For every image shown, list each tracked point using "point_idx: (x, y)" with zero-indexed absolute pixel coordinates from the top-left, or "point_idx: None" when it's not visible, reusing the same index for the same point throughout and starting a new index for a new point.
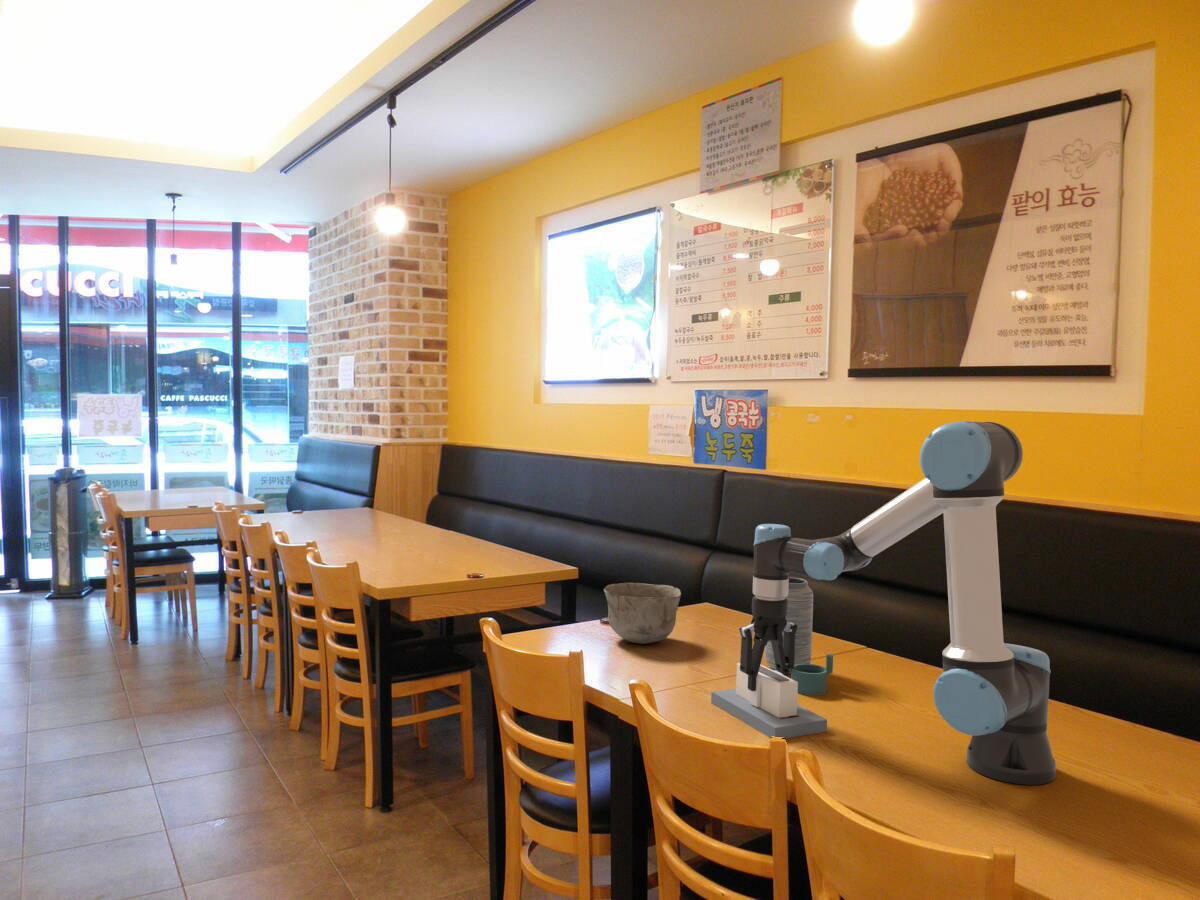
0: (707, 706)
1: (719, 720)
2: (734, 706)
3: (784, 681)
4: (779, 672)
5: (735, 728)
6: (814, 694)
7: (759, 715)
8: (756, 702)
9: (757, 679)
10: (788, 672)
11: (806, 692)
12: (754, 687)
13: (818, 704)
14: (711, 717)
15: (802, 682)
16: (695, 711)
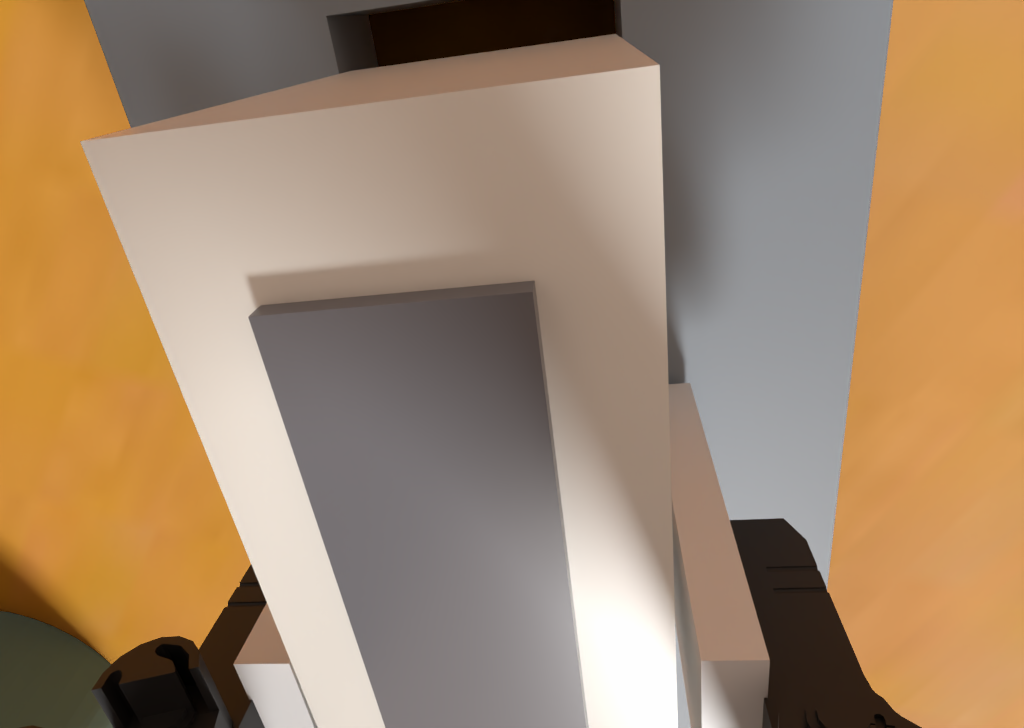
0: (855, 655)
1: (992, 408)
2: (830, 504)
3: (409, 265)
4: (269, 724)
5: (1010, 191)
6: (7, 619)
7: (798, 179)
8: (697, 417)
9: (757, 631)
10: (130, 659)
11: (53, 647)
12: (752, 554)
13: (21, 481)
14: (1002, 480)
15: (33, 723)
16: (1020, 607)
